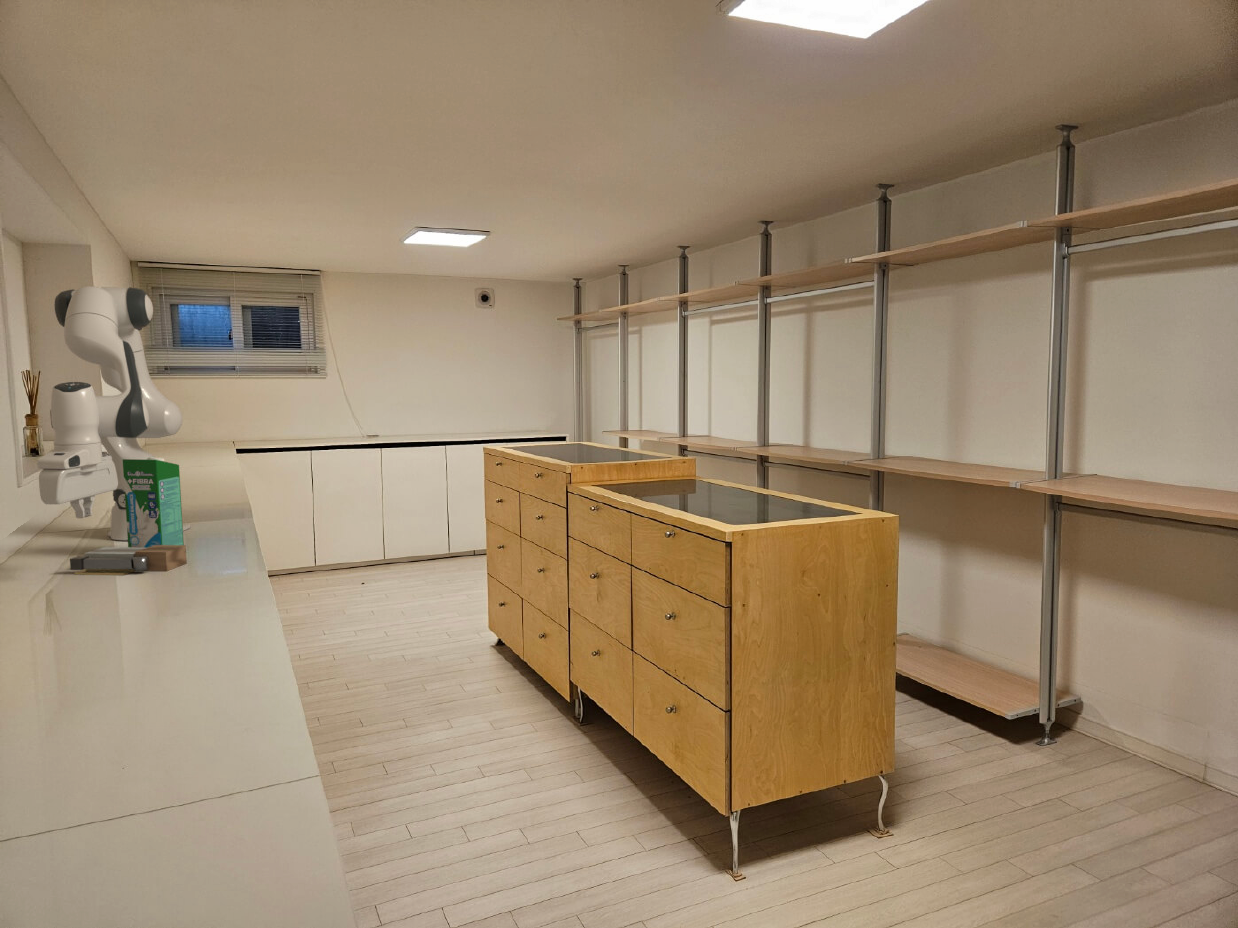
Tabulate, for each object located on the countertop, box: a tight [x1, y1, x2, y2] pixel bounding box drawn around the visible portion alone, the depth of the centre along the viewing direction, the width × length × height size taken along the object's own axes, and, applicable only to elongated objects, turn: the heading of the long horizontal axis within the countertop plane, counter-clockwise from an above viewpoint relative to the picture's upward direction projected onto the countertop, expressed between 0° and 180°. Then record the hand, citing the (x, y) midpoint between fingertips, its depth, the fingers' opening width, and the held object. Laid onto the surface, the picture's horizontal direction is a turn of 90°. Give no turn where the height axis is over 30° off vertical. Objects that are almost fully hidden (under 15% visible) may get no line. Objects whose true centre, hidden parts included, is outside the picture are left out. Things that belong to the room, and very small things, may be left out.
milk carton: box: [123, 457, 185, 548], centre depth 211 cm, size 9×9×25 cm
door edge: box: [83, 544, 188, 572], centre depth 198 cm, size 8×20×4 cm, turn 86°
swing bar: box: [69, 555, 148, 572], centre depth 192 cm, size 17×3×3 cm, turn 89°
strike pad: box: [73, 569, 135, 576], centre depth 192 cm, size 4×12×1 cm, turn 86°
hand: (84, 517), depth 185 cm, fingers closed
